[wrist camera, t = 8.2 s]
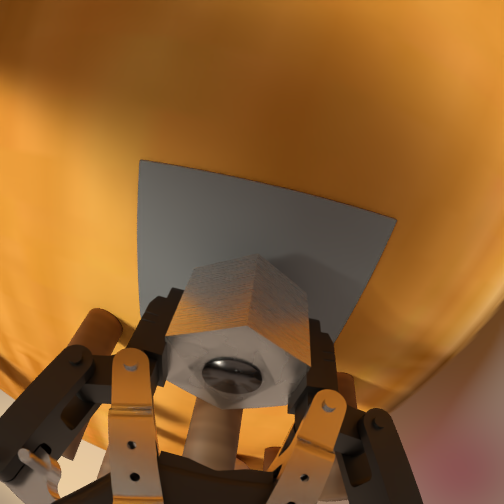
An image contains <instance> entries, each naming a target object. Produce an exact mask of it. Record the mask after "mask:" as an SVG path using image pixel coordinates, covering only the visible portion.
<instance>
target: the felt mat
mask: <svg viewBox="0 0 504 504" xmlns="http://www.w3.org/2000/svg"><path fill="white" fill-rule="evenodd" d="M396 222H397V220H396V219H394V218H391V217H387V216H384V215H381V214H378V213H374V212H371V211H368V210H364V209H361V208H358V207H354V206H351V205H347V204H344V203H340V202H336V201H333V200H329V199H325V198H322V197H318V196H314V195H310V194H306V193H303V192H299V191H295V190H291V189H286V188H282V187H278V186H274V185H270V184H265V183H261V182H257V181H252V180H248V179H243V178H238V177H234V176H229V175H224V174H219V173H214V172H209V171H204V170H199V169H194V168H188V167H183V166H177V165H171V164H165V163H159V162H153V161H147V160H140V163H139V181H138V209H137V254H138V283H139V301H140V315H141V318H142V316H143V314H144V313H145V310H146V308H147V306H148V304H149V303H150V302H151V301H152V300H153V299H155V298H156V297H157V296H162V297H166V298H167V296H168V294H169V292H170V290H171V288H172V287H174V288H178V289H182V290H185V288H186V286H187V283H188V281H189V279H190V277H191V274H192V272H193V270H194V268H196V267H201V266H205V265H210V264H214V263H218V262H223V261H227V260H231V259H236V258H240V257H244V256H249V255H253V254H260V255H261V256H262V257H263V258H264V259H266V260H267V261H268V262H269V263H271V264H272V265H273V266H274V267H276V268H277V269H278V270H279V271H280V272H282V273H283V274H284V275H285V276H287V277H288V278H289V279H290V280H291V281H293V282H294V283H295V284H296V285H298V286H299V287H300V288H301V289H302V290H304V291H305V292H306V293H307V301H308V317H309V318H312V319H317V320H319V321H320V327H321V332H323V333H328V334H329V336H330V338H331V339H332V341H333V344H334V342H335V341H336V339H337V337H338V336H339V334H340V332H341V330H342V329H343V327H344V325H345V324H346V322H347V320H348V318H349V316H350V315H351V313H352V311H353V309H354V307H355V306H356V304H357V302H358V300H359V298H360V296H361V295H362V293H363V291H364V289H365V287H366V285H367V283H368V281H369V279H370V277H371V275H372V273H373V271H374V269H375V267H376V265H377V263H378V261H379V259H380V257H381V255H382V253H383V251H384V249H385V246H386V244H387V242H388V240H389V238H390V236H391V233H392V231H393V229H394V227H395V224H396Z"/></svg>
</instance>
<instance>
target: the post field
mask: <svg viewBox="0 0 504 504" xmlns="http://www.w3.org/2000/svg"><path fill="white" fill-rule="evenodd" d="M122 332H123V329H122V326H121V324H120V322H119V321H118V320H117V318H116V317H114V316H113V315H112V314H111V313H109V312H107V311H105V310H103V309H98V308H95V309H92V310H91V311H90V312H89V313H88V315H87V316H86V318H85V319H84V321H83V322H82V324H81V325H80V327H79V329H78V330H77V332H76V333H75V335H74V336H73V338H72V340H71V341H70V343H69V344H68V346H71V345H76V344H77V345H83V346H85V347H87V348H88V349H89V350H90V351H91V353H92V355H106V356H110V355H111V353H112V352H113V350H114V348H115V346H116V344H117V342H118V340H119V338H120V336H121V334H122ZM68 346H67V347H68ZM337 380H338V390H339V394H341V395H342V396H343V398H344V399H345V401H346V404H348V405H349V406H351V407H353V408H356V409H357V403H356V395H355V387H354V380H353V377H352V376H351V375H349V374H347V373H337ZM242 412H243V409H220V408H218V407H216V406H214V405H212V404H210V403H208V402H206V401H204V400H202V399H200V398H198V397H197V398H196V402H195V406H194V410H193V414H192V418H191V422H190V426H189V430H188V434H187V439H186V443H185V447H184V451H183V455H182V456H183V457H187V458H190V459H192V460H194V461H196V462H198V463H200V464H202V465H204V466H207V467H209V468H211V469H213V470H217V471H222V470H234V468H235V461H236V454H237V447H238V440H239V433H240V426H241V419H242ZM89 420H90V419H89ZM88 423H89V421H88V422H87V423H86V424H85V426H84V427H83V428H82V429H81V431H80V432H79V433H78V435H77V436H76V437H75V438H74V440H73V441H72V442H71V444H70V445H69V446H68V447H67V449H66V450H65V451H64V453H63V454H62V455H61V456H63V457H65V458H67V459H70V460H72V461H73V459H74V457H75V454H76V452H77V449H78V447H79V444H80V442H81V439H82V437H83V434H84V432H85V430H86V427H87V425H88ZM280 448H281V447H270V448H267V449H265V454H264V465H263V471H267V470H268V468H269V467H270V465H271V464H272V463H273V461H274V459H275V458H276V456H277V454H278V452H279V450H280ZM333 453H335V451H334V450H333ZM110 472H111V471H110V457H109V445H108V448H107V451H106V453H105V456H104V459H103V462H102V465H101V468H100V471H99V474H98V477H97V479H99V478H101V477H103V476H105V475H106V474H108V473H110ZM341 500H348V497H347V493H346V490H345V486H344V483H343V479H342V476H341V472H340V468H339V465H338V461H337V458H336V455H335V459H334V463H333V465H332V468H331V471H330V473H329V476H328V478H327V481H326V483H325V486H324V488H323V490H322V493H321V495H320V498H319V500H318V501H341Z"/></svg>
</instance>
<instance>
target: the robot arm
mask: <svg viewBox="0 0 504 504" xmlns="http://www.w3.org/2000/svg"><path fill="white" fill-rule="evenodd" d="M183 293H184V290H182V289H178V288H174V287H172V288H171V290H170V292H169V294H168V296H167V298H166V297H162V296H157V297H156V298H155V299H153V300H152V301H151V302H150V303H149V304H148V306H147V308H146V310H145V313H144V314H143V316H142V318H141V320H140V322H139V324H138V326H137V328H136V330H135V332H134V334H133V336H132V338H131V340H130V342H129V344H128V345H127V347H126V348H125V349H122V350H120V351H119V352H117V354H115V355H110V356H106V355H92V353H91V351H90V350H89V349H88V348H87V347H85V346H83V345H77V344H76V345H71V346H68V347H66V348H65V349H64V350H63V351H62V352H61V353H60V354H59V355H58V356H57V357H56V358H55V359H54V360H53V361H52V362H51V363H50V364H49V365H48V366H47V367H46V368H45V369H44V370H43V371H42V372H41V373H40V375H39V376H38V377H37V378H36V379H35V380H34V381H33V382H32V383H31V384H30V385H29V386H28V387H27V388H26V389H25V391H24V392H23V393H22V394H21V395H20V396H19V397H18V398H17V399H16V400H15V402H14V403H13V404H12V405H11V406H10V407H9V408H8V409H7V410H6V412H5V413H4V414H3V415H2V416H1V417H0V481H1V482H3V483H5V484H6V485H7V486H8V487H9V488H10V489H11V491H12V492H14V493H15V494H16V496H17V497H18V498H20V499H21V500H22V501H23V502H24V503H25V504H317V502H318V500H319V498H320V495H321V493H322V490H323V488H324V486H325V483H326V481H327V478H328V476H329V473H330V471H331V468H332V465H333V463H334V459H335V455H336V458H337V461H338V465H339V468H340V472H341V476H342V479H343V483H344V486H345V490H346V493H347V497H348V500H349V504H423V502H422V498H421V495H420V492H419V489H418V487H417V484H416V481H415V478H414V475H413V472H412V470H411V467H410V464H409V461H408V459H407V456H406V454H405V451H404V449H403V446H402V443H401V440H400V438H399V435H398V433H397V430H396V428H395V425H394V423H393V420H392V418H391V416H390V415H389V414H388V413H387V412H386V411H384V410H383V409H379V408H373V409H370V410H369V411H367V412H364V411H361V410H358V409H356V408H353V407H351V406H349V405H348V404H346V401H345V399H344V398H343V396H342V395H341V394H339V390H338V380H337V370H336V362H335V354H334V353H335V352H334V344H333V341H332V339H331V338H330V336H329V334H328V333H323V332H321V327H320V321H319V320H317V319H312V318H309V334H310V355H311V368H310V370H309V371H308V372H306V373H305V375H304V377H303V378H302V380H301V381H300V383H299V385H298V386H297V388H296V389H295V391H294V392H293V394H292V395H291V397H290V399H289V400H288V414H295V422H294V423H293V424H292V426H291V428H290V430H289V432H288V434H287V436H286V438H285V440H284V442H283V444H282V446H281V448H280V450H279V452H278V454H277V456H276V458H275V459H274V461H273V463H272V464H271V465H270V467H269V468H268V470H267V471H258V470H250V469H239V470H222V471H217V470H213V469H211V468H209V467H207V466H204V465H202V464H200V463H198V462H196V461H194V460H192V459H190V458H187V457H183V456H179V455H175V454H171V453H168V452H164V451H161V453H159V446H158V439H157V432H156V422H155V412H154V400H153V395H154V393H155V390H156V387H157V385H158V386H161V387H164V384H165V382H166V379H167V376H168V374H167V342H165V335H166V333H167V331H168V328H169V326H170V323H171V321H172V319H173V316H174V314H175V311H176V309H177V307H178V304H179V302H180V300H181V297H182V295H183ZM102 403H104V404H111V408H110V409H109V413H108V434H109V457H110V471H111V472H110V473H108V474H106V475H105V476H103V477H101V478H99V479H97V480H96V481H94V482H92V483H90V484H88V485H86V486H84V487H82V488H80V489H79V490H77V491H75V492H73V493H71V494H69V495H67V496H64V497H62V498H60V496H59V494H58V490H57V486H58V482H59V480H60V478H61V468H60V465H59V464H58V462H57V460H58V459H59V458H60V457H61V455H62V454H63V453H64V451H65V450H66V449H67V447H68V446H69V445H70V444H71V442H72V441H73V440H74V438H75V437H76V436H77V435H78V433H79V432H80V431H81V429H82V428H83V427H84V426H85V424H86V423H87V422H88V421H89V419H90V418H91V417H92V415H93V414H94V413H95V412H96V410H97V409H98V408H99V407H100V405H101V404H102ZM333 450H334V451H335V453H333Z"/></svg>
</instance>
